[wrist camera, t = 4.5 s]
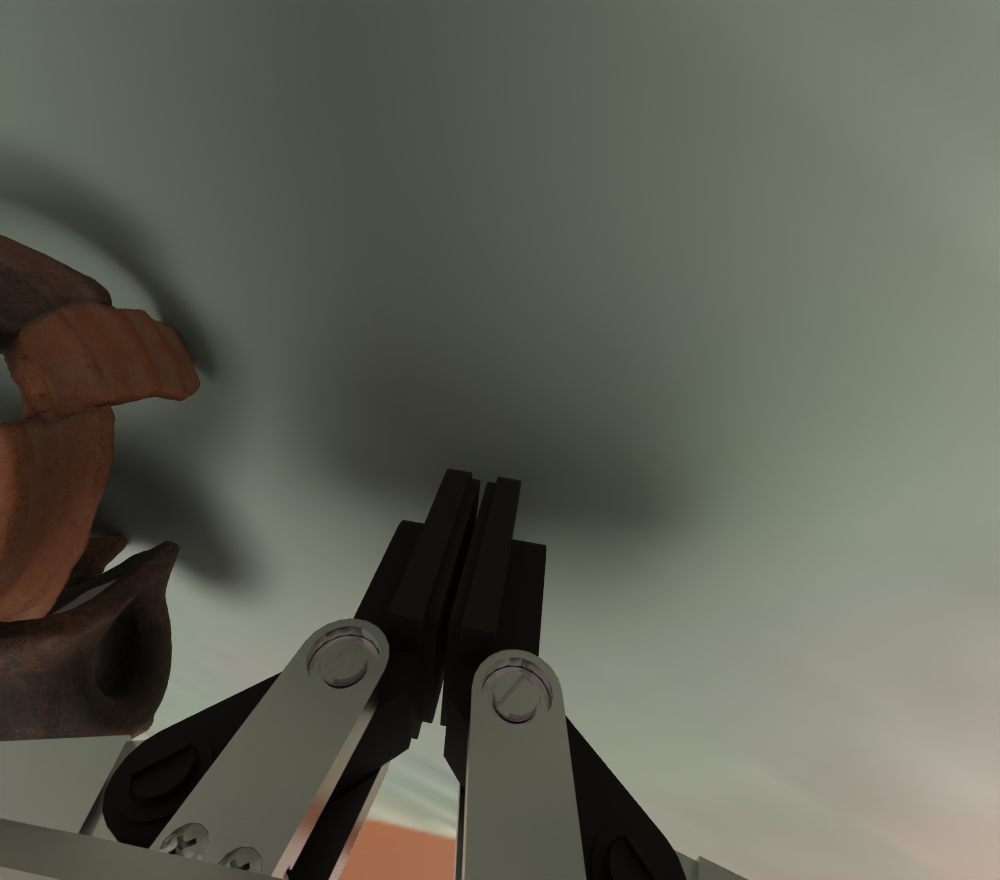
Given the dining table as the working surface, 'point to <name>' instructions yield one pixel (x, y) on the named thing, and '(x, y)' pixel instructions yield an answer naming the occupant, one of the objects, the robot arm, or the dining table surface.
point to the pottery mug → (76, 508)
